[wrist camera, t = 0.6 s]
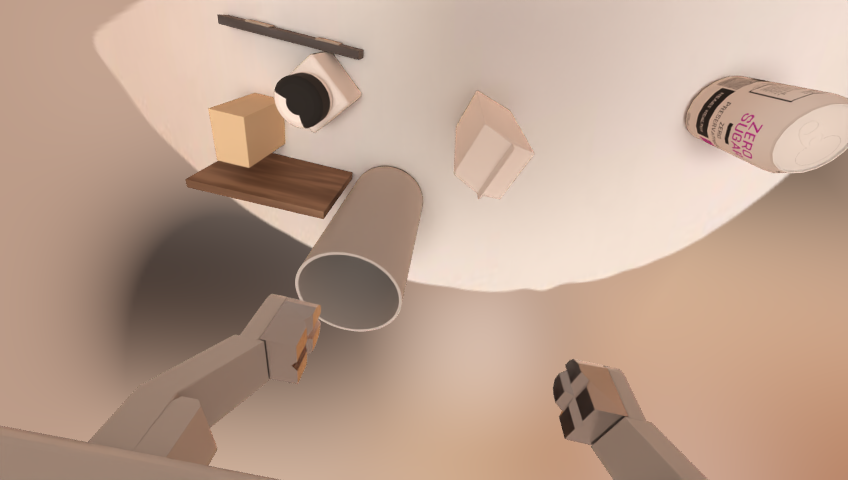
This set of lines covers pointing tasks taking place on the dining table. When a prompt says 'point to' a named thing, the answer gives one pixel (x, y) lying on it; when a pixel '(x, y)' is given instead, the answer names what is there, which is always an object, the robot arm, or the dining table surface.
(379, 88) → the dining table surface
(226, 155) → the carton
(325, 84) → the medicine bottle
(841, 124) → the supplement can
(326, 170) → the brown flat boards
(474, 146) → the milk
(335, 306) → the cylinder vase
